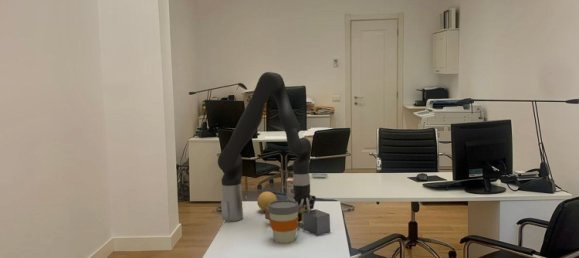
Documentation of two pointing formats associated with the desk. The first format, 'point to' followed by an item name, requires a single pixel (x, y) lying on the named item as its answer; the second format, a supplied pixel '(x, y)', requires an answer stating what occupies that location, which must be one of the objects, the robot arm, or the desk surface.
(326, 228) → the grey sleeve
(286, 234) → the reusable coffee cup
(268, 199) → the stress ball
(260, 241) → the desk surface
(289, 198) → the candy bar box
